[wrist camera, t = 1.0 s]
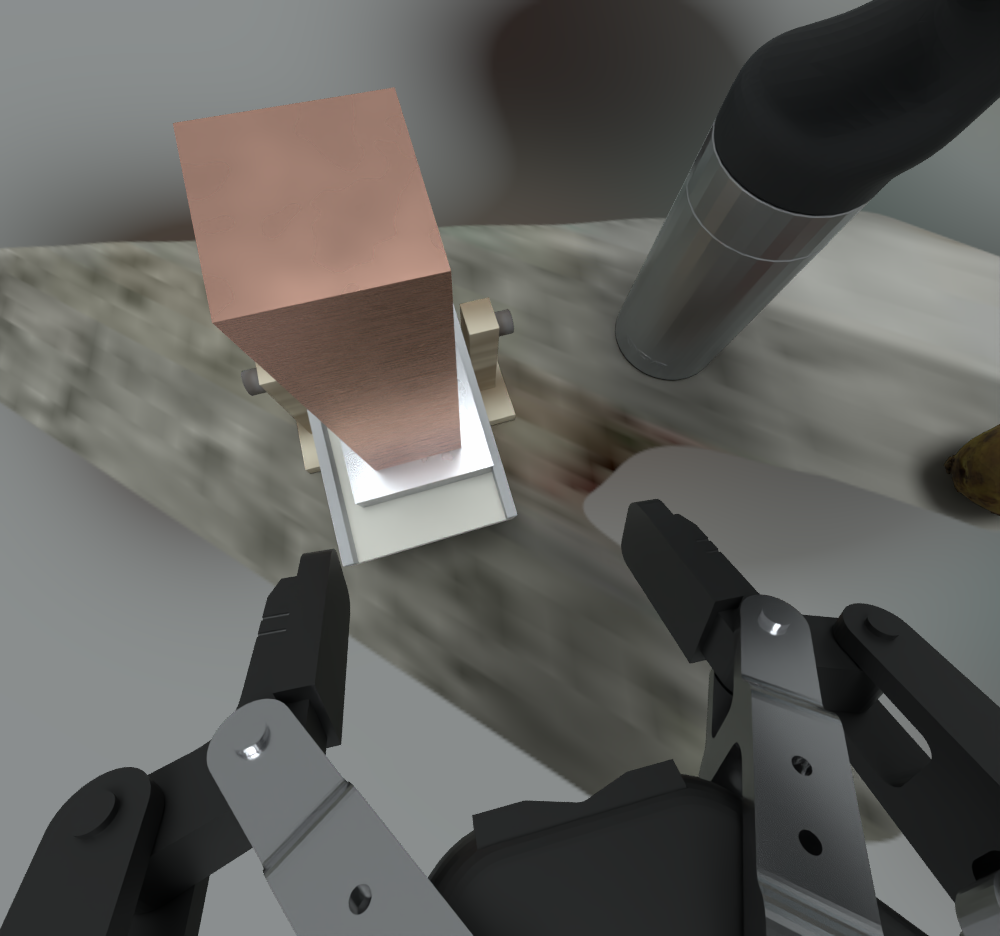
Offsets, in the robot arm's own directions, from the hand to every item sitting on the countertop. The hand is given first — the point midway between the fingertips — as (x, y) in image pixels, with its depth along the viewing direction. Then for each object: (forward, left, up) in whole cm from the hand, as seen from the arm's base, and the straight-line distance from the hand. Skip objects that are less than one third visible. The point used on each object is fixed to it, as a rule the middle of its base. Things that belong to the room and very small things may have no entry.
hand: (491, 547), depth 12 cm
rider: (-3, -9, -14) cm, 17 cm away
